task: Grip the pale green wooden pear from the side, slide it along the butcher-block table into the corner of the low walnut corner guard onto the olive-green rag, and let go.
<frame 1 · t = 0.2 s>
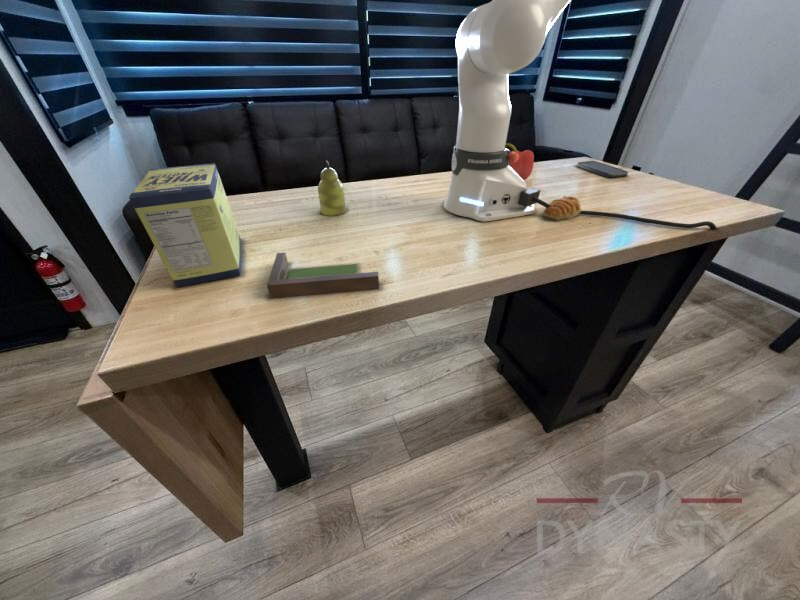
corner guard: (315, 267, 58), on the table
vegetable: (511, 180, 100), on the table
pastry: (560, 215, 78), on the table
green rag: (322, 277, 56), on the table
phone: (600, 171, 108), on the table
protein box: (212, 262, 60), on the table
pear: (333, 210, 80), on the table
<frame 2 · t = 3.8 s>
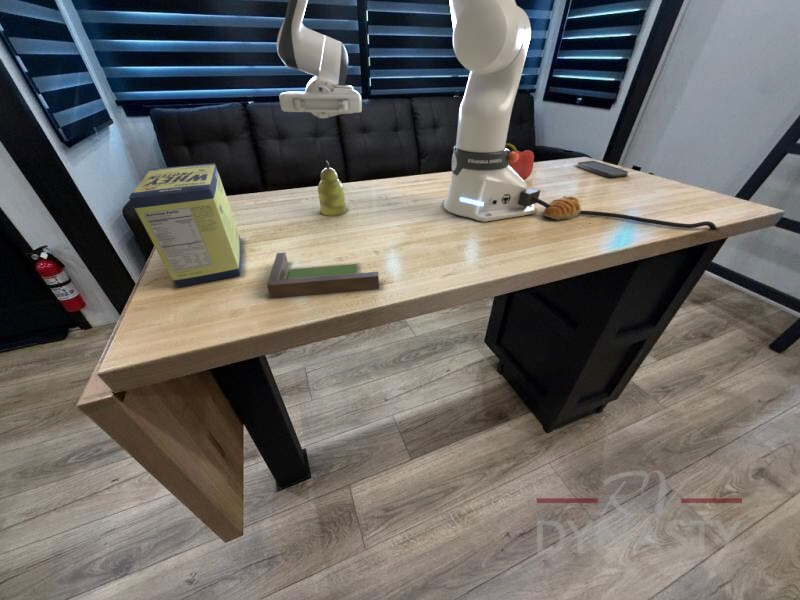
hand: (321, 107, 76), 21 cm above the table, tool horizontal, fingers open, 8 cm apart
nothing on the table moved.
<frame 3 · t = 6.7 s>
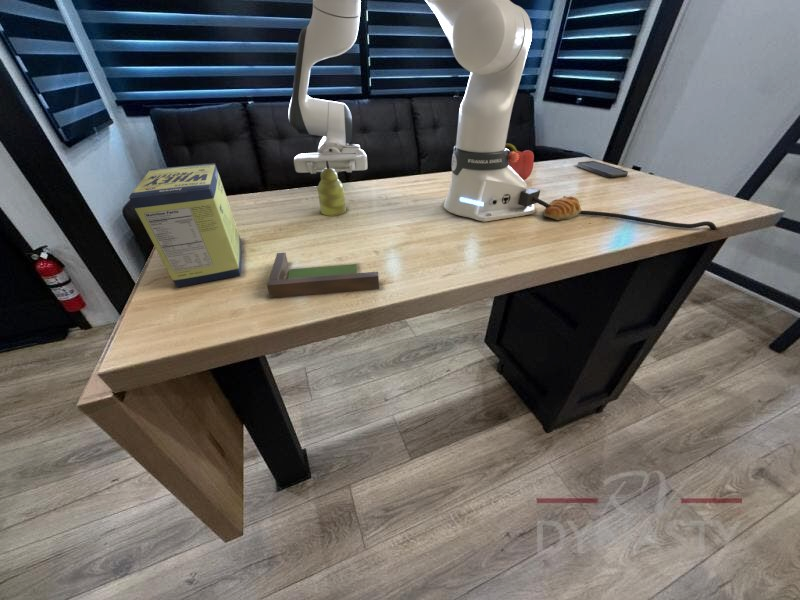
hand: (330, 169, 85), 7 cm above the table, tool horizontal, fingers open, 8 cm apart
nothing on the table moved.
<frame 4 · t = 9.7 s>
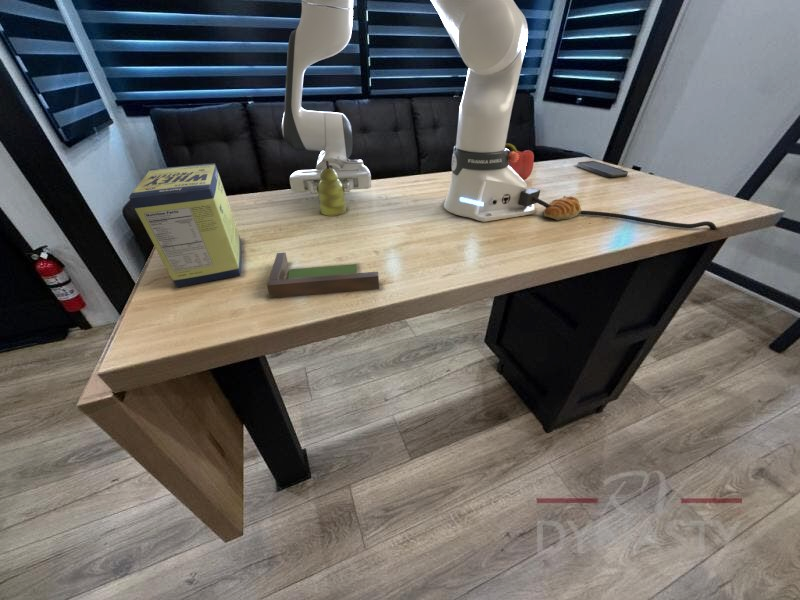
hand: (330, 190, 76), 6 cm above the table, tool horizontal, fingers closed on pear, 6 cm apart
pear: (333, 210, 80), on the table, touching gripper
everything else where it was.
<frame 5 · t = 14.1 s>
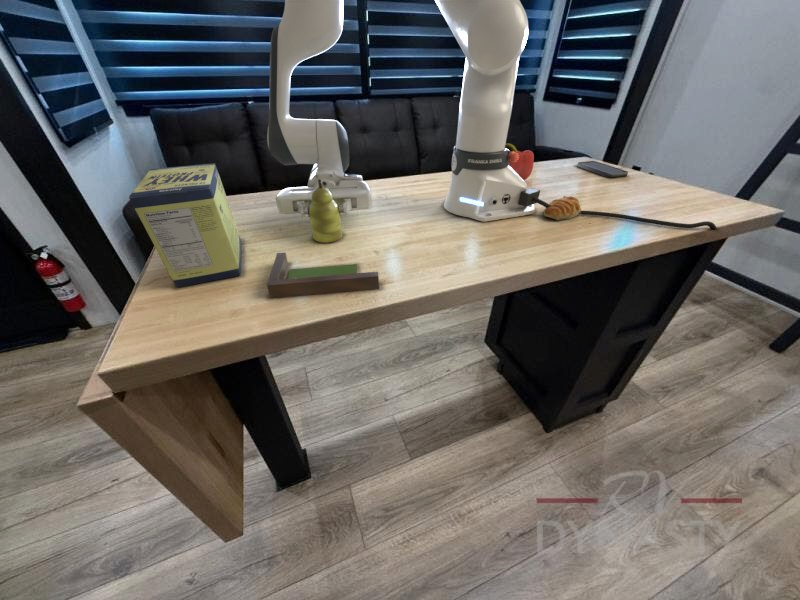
hand: (324, 212, 64), 6 cm above the table, tool horizontal, fingers closed on pear, 6 cm apart
pear: (327, 235, 68), on the table, touching gripper
everything else where it was.
when the fingers open (6 cm above the table, at t = 18.8 s): pear stays where it is, resting on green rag.
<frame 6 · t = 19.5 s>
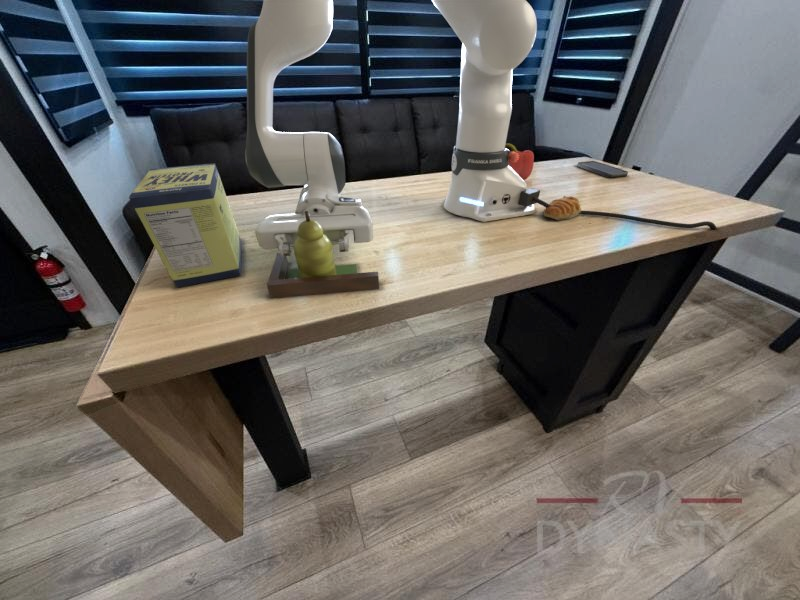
hand: (314, 250, 52), 6 cm above the table, tool horizontal, fingers open, 8 cm apart
pear: (318, 276, 56), resting on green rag
everything else where it was.
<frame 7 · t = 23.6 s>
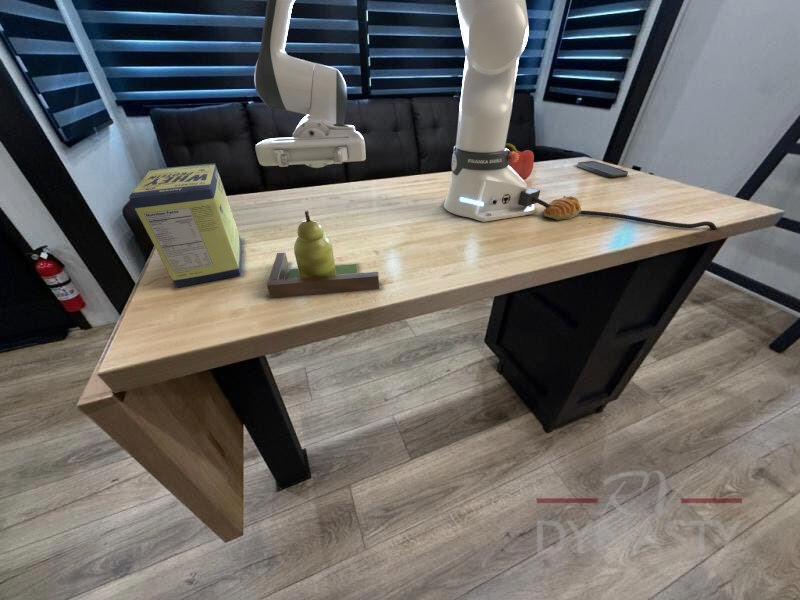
hand: (310, 160, 56), 16 cm above the table, tool horizontal, fingers open, 8 cm apart
nothing on the table moved.
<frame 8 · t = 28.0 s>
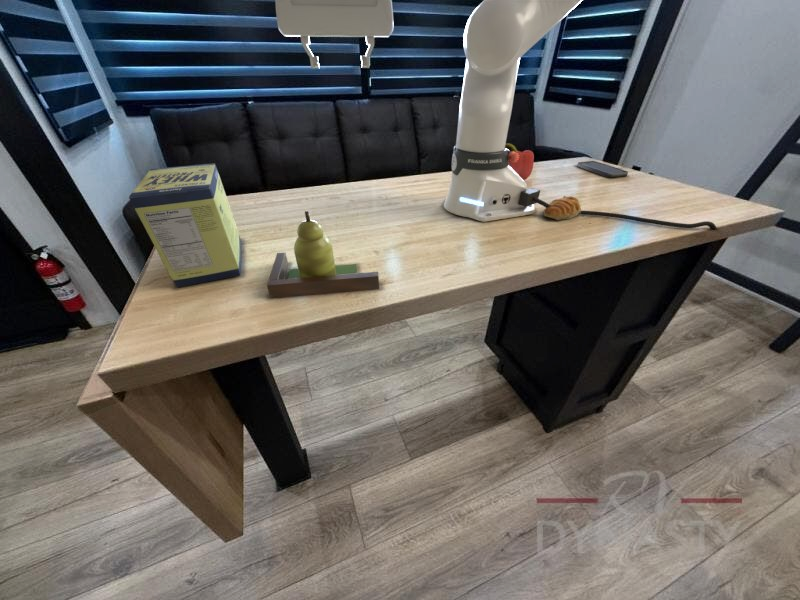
hand: (340, 68, 61), 29 cm above the table, tool pointing down, fingers open, 8 cm apart
nothing on the table moved.
at the end: pear inside the target area on the corner guard (0.8 cm from its centre), point 0.2 cm above the corner guard's base; pear tilted 0°; the gripper is holding nothing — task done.
